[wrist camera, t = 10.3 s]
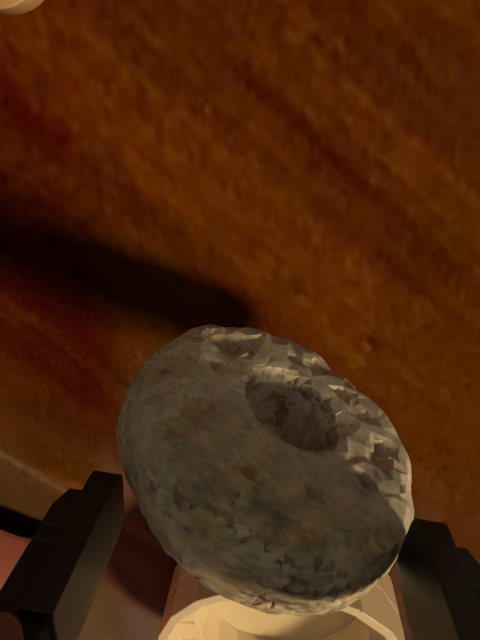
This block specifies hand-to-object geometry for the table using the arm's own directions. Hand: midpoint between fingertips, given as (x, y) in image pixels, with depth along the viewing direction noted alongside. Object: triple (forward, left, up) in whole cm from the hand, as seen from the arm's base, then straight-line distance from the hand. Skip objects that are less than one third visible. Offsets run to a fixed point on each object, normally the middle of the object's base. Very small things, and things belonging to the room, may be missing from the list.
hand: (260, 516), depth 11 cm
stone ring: (0, 0, -8) cm, 8 cm away
